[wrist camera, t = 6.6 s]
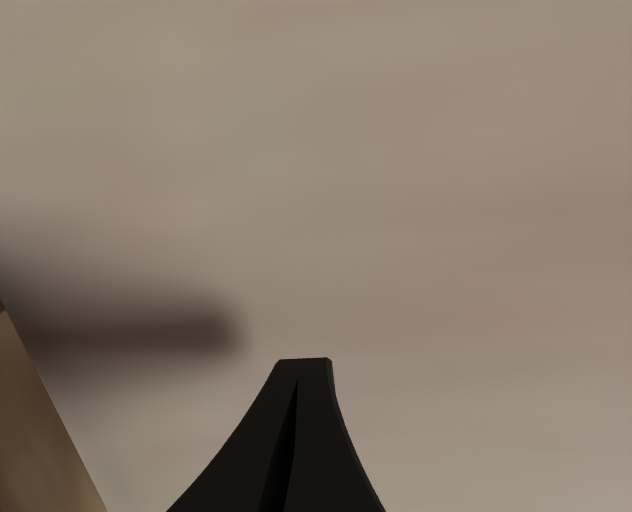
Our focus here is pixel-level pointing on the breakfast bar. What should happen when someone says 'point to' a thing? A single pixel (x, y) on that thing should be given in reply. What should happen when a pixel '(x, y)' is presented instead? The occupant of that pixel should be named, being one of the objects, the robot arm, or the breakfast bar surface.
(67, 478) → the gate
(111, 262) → the breakfast bar surface
